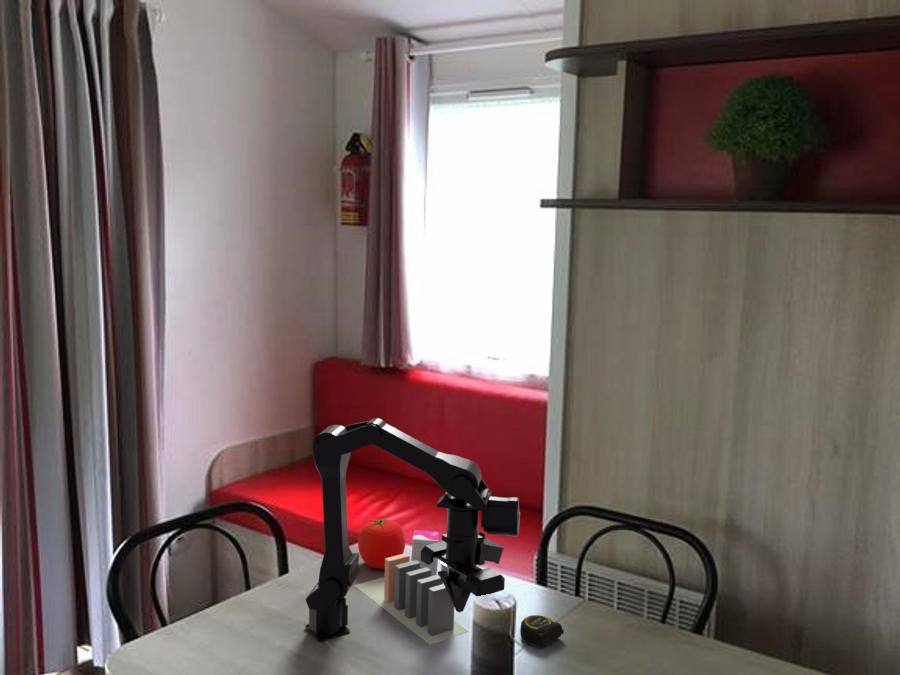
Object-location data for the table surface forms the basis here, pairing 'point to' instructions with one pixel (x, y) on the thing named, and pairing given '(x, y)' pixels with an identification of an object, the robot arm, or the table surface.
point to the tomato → (380, 542)
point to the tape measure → (540, 630)
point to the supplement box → (418, 544)
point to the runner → (376, 593)
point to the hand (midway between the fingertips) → (459, 611)
